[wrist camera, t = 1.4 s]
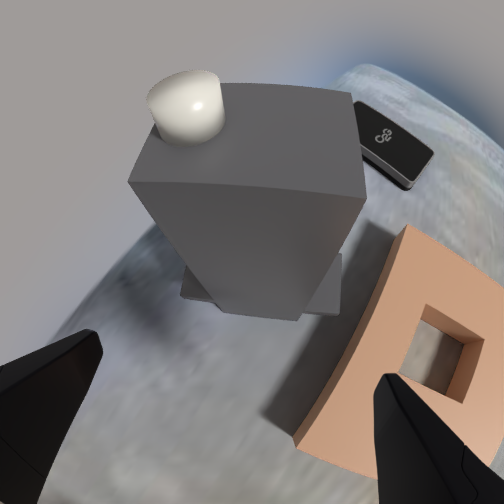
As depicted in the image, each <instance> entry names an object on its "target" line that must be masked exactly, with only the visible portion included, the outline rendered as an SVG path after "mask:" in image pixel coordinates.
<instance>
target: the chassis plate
mask: <svg viewBox="0 0 504 504" xmlns="http://www.w3.org/2000/svg"><path fill="white" fill-rule="evenodd" d="M420 319H422V320H423V321H425V322H427V323H429V324H430V325H432V326H434V327H435V328H437V329H439V330H441V331H442V332H444V333H446V334H447V335H449V336H451V337H453V338H454V339H456V340H458V341H459V342H461V343H463V344H464V347H463V350H462V353H461V356H460V359H459V361H458V364H457V367H456V370H455V372H454V375H453V378H452V380H451V383H450V385H449V387H448V390H447V392H446V394H445V396H444V395H442V394H440V393H438V392H436V391H434V390H432V389H429V388H427V387H425V386H423V385H421V384H419V383H417V382H415V381H413V380H411V379H409V378H407V377H405V376H403V375H401V374H399V373H398V371H399V369H400V367H401V365H402V362H403V360H404V358H405V356H406V353H407V351H408V349H409V346H410V344H411V341H412V339H413V337H414V334H415V331H416V329H417V326H418V324H419V321H420ZM384 373H397V374H398V375H399V376H400V377H401V378H402V379H403V380H404V381H405V382H406V383H407V384H408V385H409V386H410V387H411V388H412V389H413V390H414V391H415V392H416V393H417V394H418V395H419V396H420V397H421V398H422V399H423V401H424V402H425V403H426V404H427V405H428V406H429V407H430V408H431V409H432V410H433V411H434V412H435V413H436V414H437V415H438V416H439V417H440V418H441V419H442V420H443V421H444V422H445V423H446V424H447V425H448V426H449V427H450V429H451V430H452V431H453V432H454V433H455V434H456V435H457V436H458V437H459V438H460V439H461V440H462V441H463V442H464V445H467V446H468V447H469V448H470V450H471V451H472V452H473V453H474V454H475V455H476V456H477V457H478V458H479V459H480V460H481V461H482V462H483V463H485V464H486V465H487V466H488V467H489V466H490V464H491V462H492V460H493V458H494V456H495V454H496V452H497V450H498V448H499V446H500V444H501V442H502V439H503V437H504V288H503V287H502V286H500V285H499V284H498V283H496V282H495V281H494V280H492V279H491V278H490V277H488V276H487V275H486V274H484V273H483V272H482V271H480V270H479V269H477V268H476V267H475V266H473V265H472V264H470V263H469V262H467V261H466V260H464V259H463V258H462V257H460V256H459V255H457V254H456V253H454V252H453V251H451V250H450V249H448V248H446V247H445V246H443V245H442V244H440V243H439V242H437V241H436V240H434V239H432V238H431V237H429V236H427V235H426V234H424V233H423V232H421V231H419V230H418V229H416V228H414V227H413V226H411V225H409V224H407V225H406V226H405V227H404V228H403V230H402V231H401V232H400V233H399V234H398V236H397V237H396V238H395V239H394V241H393V244H392V246H391V249H390V252H389V254H388V257H387V259H386V262H385V265H384V267H383V270H382V272H381V274H380V277H379V279H378V282H377V284H376V286H375V289H374V291H373V293H372V296H371V298H370V300H369V302H368V304H367V307H366V309H365V311H364V313H363V315H362V317H361V319H360V322H359V324H358V326H357V328H356V330H355V332H354V334H353V336H352V338H351V340H350V342H349V344H348V345H347V347H346V349H345V351H344V353H343V355H342V357H341V359H340V361H339V362H338V364H337V366H336V368H335V370H334V371H333V373H332V375H331V377H330V378H329V380H328V382H327V384H326V385H325V387H324V389H323V390H322V392H321V394H320V395H319V397H318V399H317V400H316V402H315V403H314V405H313V407H312V408H311V410H310V411H309V413H308V414H307V416H306V417H305V419H304V421H303V422H302V424H301V425H300V427H299V428H298V429H297V431H296V432H295V434H294V435H293V437H292V438H293V441H294V444H295V446H296V448H297V449H299V450H301V451H303V452H306V453H308V454H310V455H312V456H315V457H317V458H319V459H322V460H324V461H327V462H329V463H332V464H334V465H337V466H339V467H342V468H344V469H347V470H350V471H353V472H355V473H358V474H361V475H364V476H367V477H370V478H373V479H377V480H378V478H377V466H376V455H375V446H374V409H373V394H374V391H375V388H376V386H377V384H378V383H379V381H380V379H381V377H382V375H383V374H384Z"/></svg>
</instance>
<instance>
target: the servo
mask: <svg viewBox="0 0 504 504" xmlns="http://www.w3.org/2000/svg"><path fill="white" fill-rule="evenodd" d="M146 100H147V104H148V106H149V109H150V111H151V114H152V116H153V119H154V121H155V124H154V126H153V128H152V130H151V132H150V134H149V136H148V138H147V140H146V142H145V144H144V146H143V148H142V150H141V152H140V155H139V157H138V159H137V161H136V163H135V166H134V168H133V170H132V172H131V175H130V177H129V179H128V183H129V185H130V186H131V188H132V189H133V191H134V192H135V193H136V195H137V196H138V198H139V199H140V201H141V202H142V204H143V205H144V207H145V208H146V210H147V211H148V212H149V214H150V215H151V217H152V218H153V219H154V221H155V222H156V224H157V225H158V227H159V228H160V229H161V231H162V232H163V234H164V235H165V236H166V238H167V239H168V240H169V242H170V243H171V245H172V246H173V247H174V249H175V250H176V251H177V253H178V254H179V255H180V257H181V258H182V259H183V261H184V262H185V263H186V269H185V274H184V278H183V283H182V288H181V293H180V296H181V297H182V298H184V299H190V300H197V301H204V302H211V303H216V304H217V305H218V306H219V307H220V309H221V310H222V311H223V312H224V313H230V314H238V315H246V316H254V317H262V318H271V319H280V320H290V321H298V319H299V318H300V316H301V314H302V313H305V314H316V315H328V316H337V315H339V314H340V297H341V268H342V254H341V253H338V252H339V250H340V248H341V247H342V245H343V243H344V241H345V239H346V238H347V236H348V234H349V232H350V230H351V228H352V226H353V225H354V223H355V221H356V219H357V217H358V215H359V213H360V211H361V209H362V207H363V205H364V203H365V201H366V199H367V195H366V185H365V176H364V168H363V160H362V153H361V146H360V140H359V133H358V127H357V122H356V116H355V111H354V106H353V101H352V96H351V93H348V92H342V91H335V90H328V89H321V88H312V87H303V86H292V85H277V84H255V83H220V82H219V79H218V77H217V76H216V75H215V74H213V73H211V72H208V71H203V70H191V71H185V72H181V73H177V74H174V75H172V76H169V77H167V78H165V79H163V80H162V81H160V82H159V83H157V84H156V85H155V86H154V87H153V88H152V89H151V90H150V91H149V93H148V95H147V99H146Z"/></svg>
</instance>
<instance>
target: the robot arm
mask: <svg viewBox="0 0 504 504" xmlns="http://www.w3.org/2000/svg"><path fill="white" fill-rule="evenodd" d="M102 356H103V348H102V345H101V342H100V339H99V336H98V334H97V332H95V331H93V330H89V329H84V330H82V331H80V332H77V333H75V334H73V335H71V336H68V337H66V338H64V339H61V340H59V341H57V342H55V343H52V344H50V345H48V346H45V347H43V348H41V349H39V350H37V351H34V352H32V353H30V354H28V355H25V356H23V357H20V358H18V359H16V360H14V361H11V362H9V363H7V364H5V365H2V366H0V504H37V502H38V499H39V496H40V494H41V491H42V489H43V486H44V484H45V481H46V478H47V476H48V474H49V471H50V469H51V467H52V464H53V462H54V460H55V458H56V455H57V453H58V451H59V449H60V447H61V444H62V442H63V440H64V438H65V436H66V434H67V432H68V430H69V428H70V426H71V424H72V422H73V419H74V417H75V415H76V414H77V412H78V410H79V408H80V406H81V404H82V402H83V400H84V398H85V396H86V394H87V392H88V390H89V387H90V385H91V383H92V380H93V378H94V375H95V373H96V370H97V368H98V366H99V363H100V361H101V359H102ZM373 409H374V446H375V455H376V466H377V478H378V492H379V504H504V480H503V479H502V478H501V477H499V476H498V475H497V474H496V473H495V472H493V471H492V470H491V469H490V468H489V467H488V466H487V465H486V464H485V463H483V462H482V461H481V460H480V459H479V458H478V457H477V456H476V455H475V454H474V453H473V452H472V451H471V450H470V448H469V447H468V446H467V445H464V442H463V441H462V440H461V439H460V438H459V437H458V436H457V435H456V434H455V433H454V432H453V431H452V430H451V429H450V427H449V426H448V425H447V424H446V423H445V422H444V421H443V420H442V419H441V418H440V417H439V416H438V415H437V414H436V413H435V412H434V411H433V410H432V409H431V408H430V407H429V406H428V405H427V404H426V403H425V402H424V401H423V399H422V398H421V397H420V396H419V395H418V394H417V393H416V392H415V391H414V390H413V389H412V388H411V387H410V386H409V385H408V384H407V383H406V382H405V381H404V380H403V379H402V378H401V377H400V376H399V375H398V374H397V373H384V374H383V375H382V377H381V379H380V381H379V383H378V384H377V386H376V388H375V391H374V394H373Z"/></svg>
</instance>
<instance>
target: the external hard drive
mask: <svg viewBox="0 0 504 504" xmlns="http://www.w3.org/2000/svg"><path fill="white" fill-rule="evenodd" d="M353 106H354V111H355V116H356V122H357V127H358V133H359V140H360V146H361V153H362V159H364V160H365V161H366V162H368V163H369V164H371V165H372V166H373V167H375V168H376V169H377V170H379V171H380V172H381V173H382V174H384V175H385V176H386V177H388V178H389V179H390V180H391V181H393V182H394V183H395V184H396V185H398V186H399V187H400V188H401V189H403V190H405V191H408V190H410V189H411V188H412V186H413V185H414V184H415V182H416V181H417V180H418V178H419V177H420V176H421V174H422V173H423V171H424V170H425V168H426V167H427V166H428V165H429V163H430V162H431V160H432V158H433V157H434V155H435V153H434V151H433V150H432V149H431V148H430V147H429V146H427V145H426V144H425V143H423V142H422V141H421V140H419V139H418V138H417V137H415V136H414V135H413V134H411V133H410V132H408V131H407V130H406V129H404V128H403V127H401V126H400V125H398V124H397V123H396V122H394V121H393V120H391V119H390V118H388V117H387V116H385V115H383V114H382V113H380V112H379V111H377V110H376V109H374V108H372V107H371V106H369V105H367V104H366V103H364V102H362V101H359V100H357V101H355V102H353Z"/></svg>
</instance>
